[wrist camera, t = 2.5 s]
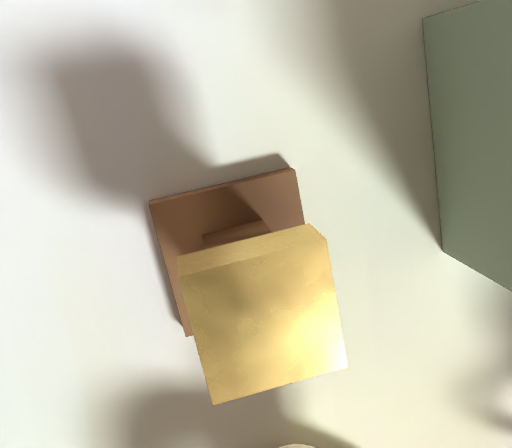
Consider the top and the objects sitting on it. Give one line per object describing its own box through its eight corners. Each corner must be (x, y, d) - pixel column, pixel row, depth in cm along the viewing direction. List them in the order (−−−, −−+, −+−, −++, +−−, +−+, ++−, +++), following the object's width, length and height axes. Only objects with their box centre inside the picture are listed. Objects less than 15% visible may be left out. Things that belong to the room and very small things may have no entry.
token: (208, 373, 18) (212, 405, 16) (177, 256, 17) (177, 276, 15) (329, 339, 19) (347, 366, 17) (309, 223, 17) (326, 239, 15)
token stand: (185, 329, 24) (189, 401, 18) (149, 200, 22) (141, 237, 16) (314, 294, 25) (356, 354, 19) (290, 167, 23) (330, 191, 17)
